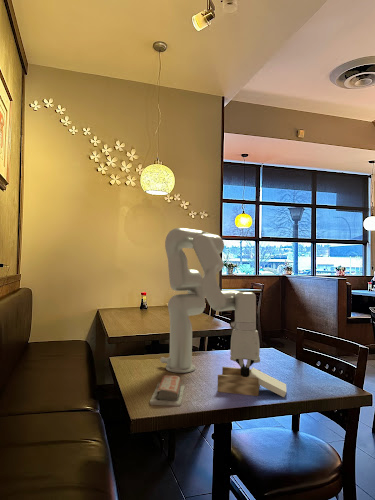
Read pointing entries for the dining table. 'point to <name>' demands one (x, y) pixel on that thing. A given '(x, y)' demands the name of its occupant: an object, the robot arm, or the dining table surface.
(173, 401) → the packaged product
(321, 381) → the dining table surface
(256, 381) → the box
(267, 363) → the dining table surface
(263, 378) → the cover plate
